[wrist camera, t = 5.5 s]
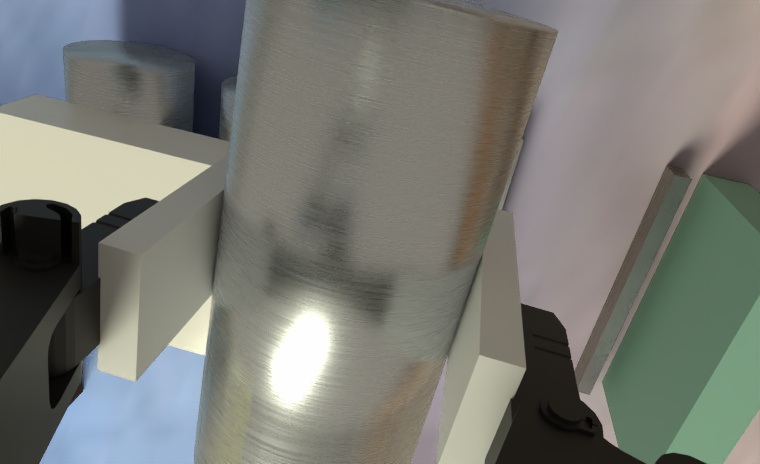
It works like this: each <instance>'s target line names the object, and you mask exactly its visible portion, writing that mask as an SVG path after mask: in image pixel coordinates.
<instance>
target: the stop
mask: <svg viewBox="0 0 760 464" xmlns="http://www.w3.org/2000/svg"><path fill="white" fill-rule="evenodd" d="M602 384H603V388H604V392H605V396H606V399H607V403H608V407H609V411H610V415H611V419H612V423H613V427H614V431H615V435H616V439H617V443H618V447H619V449H620V450H622V451H624V452H625V453H627V454H629V455H631V456H633V457H635V458H637V459H638V460H640V461H642V462H644V463H646V464H655V462H656V461H657V460H658V459H659V458H660V456H661V455H663V454H668V453H679V454H684V455H689V456H691V457H694V458H696V459H698V460H700V461H703V462H705V463H707V464H723V463H724V461H725V460H726V458H727V457H728V455H729V454H730V452H731V451H732V449H733V448H734V446H735V445H736V443H737V442H738V440H739V439H740V437H741V436H742V434H743V433H744V431H745V430H746V428H747V427H748V425H749V424H750V422H751V421H752V419H753V418H754V416H755V415H756V413H757V412H758V410H759V409H760V193H759V192H758V191H757V190H756V189H755V188H754V187H752V186H751V185H748V184H744V183H739V182H735V181H731V180H726V179H722V178H718V177H714V176H709V175H705V174H702V176H701V178H700V180H699V182H698V185H697V187H696V189H695V191H694V193H693V195H692V197H691V199H690V201H689V203H688V205H687V207H686V209H685V212H684V214H683V216H682V218H681V220H680V222H679V224H678V226H677V228H676V230H675V232H674V234H673V236H672V239H671V241H670V243H669V245H668V247H667V249H666V251H665V253H664V255H663V257H662V259H661V261H660V263H659V266H658V268H657V270H656V272H655V274H654V276H653V278H652V280H651V282H650V284H649V286H648V288H647V290H646V293H645V295H644V297H643V299H642V301H641V303H640V305H639V307H638V309H637V311H636V313H635V315H634V317H633V320H632V322H631V324H630V326H629V328H628V330H627V332H626V334H625V336H624V338H623V340H622V342H621V345H620V347H619V349H618V351H617V353H616V355H615V357H614V359H613V361H612V363H611V365H610V367H609V369H608V372H607V374H606V376H605V378H604V380H603V382H602Z"/></svg>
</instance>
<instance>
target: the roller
mask: <svg viewBox="0 0 760 464" xmlns="http://www.w3.org/2000/svg"><path fill="white" fill-rule="evenodd" d="M557 34H558V30H556V29H554V28H552V27H549V26H546V25H543V24H540V23H537V22H534V21H531V20H528V19H525V18H521V17H518V16H515V15H511V14H508V13H504V12H501V11H497V10H494V9H490V8H487V7H483V6H479V5H476V4H472V3H468V2H464V1H461V0H246V5H245V14H244V22H243V31H242V40H241V48H240V57H239V66H238V75H237V83H236V92H235V101H234V109H233V118H232V127H231V135H230V144H229V153H228V161H227V170H226V179H225V187H224V196H223V205H222V214H221V222H220V231H219V240H218V248H217V257H216V266H215V274H214V283H213V292H212V300H211V309H210V318H209V327H208V335H207V344H206V353H205V361H204V370H203V379H202V387H201V396H200V405H199V413H198V422H197V431H196V440H195V449H194V463H195V464H411V461H412V458H413V455H414V453H415V450H416V447H417V444H418V441H419V438H420V435H421V432H422V429H423V426H424V423H425V420H426V417H427V414H428V412H429V409H430V406H431V403H432V400H433V397H434V394H435V391H436V388H437V385H438V382H439V379H440V376H441V373H442V371H443V368H444V365H445V362H446V359H447V356H448V353H449V350H450V347H451V344H452V341H453V338H454V335H455V332H456V329H457V326H458V324H459V321H460V318H461V315H462V312H463V309H464V306H465V303H466V300H467V297H468V294H469V291H470V288H471V285H472V283H473V280H474V277H475V274H476V271H477V268H478V265H479V262H480V259H481V256H482V253H483V250H484V247H485V245H486V242H487V239H488V236H489V233H490V230H491V227H492V224H493V221H494V218H495V215H496V212H497V209H498V206H499V204H500V201H501V198H502V195H503V192H504V189H505V186H506V183H507V180H508V177H509V174H510V171H511V168H512V165H513V163H514V160H515V157H516V154H517V151H518V148H519V145H520V142H521V139H522V136H523V133H524V130H525V127H526V124H527V122H528V119H529V116H530V113H531V110H532V107H533V104H534V101H535V98H536V95H537V92H538V89H539V86H540V83H541V81H542V78H543V75H544V72H545V69H546V66H547V63H548V60H549V57H550V54H551V51H552V48H553V45H554V42H555V39H556V37H557Z"/></svg>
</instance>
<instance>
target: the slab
mask: <svg viewBox="0 0 760 464" xmlns="http://www.w3.org/2000/svg"><path fill="white" fill-rule="evenodd" d="M229 144H230V142H229V141H225V140H221V139H217V138H212V137H208V136H204V135H200V134H196V133H192V132H188V131H184V130H180V129H176V128H172V127H168V126H164V125H160V124H155V123H151V122H147V121H143V120H139V119H135V118H131V117H127V116H123V115H119V114H115V113H111V112H107V111H103V110H98V109H94V108H90V107H86V106H82V105H78V104H74V103H70V102H66V101H62V100H58V99H54V98H50V97H46V96H42V95H33V96H30V97H27V98H23V99H20V100H17V101H13V102H10V103H7V104H3V105H0V206H1V205H2V204H6V203H10V202H14V201H18V200H29V199H43V200H54V201H58V202H62V203H66V204H68V205H70V206H72V207H74V208H76V209H77V210H78V211H79V213H80V214H81V229H83V228H85V227H86V226H88V225H89V224H91V223H93V222H95V223H96V220H97V219H99V218H101V217H102V216H104V215H106V214H107V215H108V214H109V212H110V211H112V210H114V209H115V208H117V207H118V206H120V205H122V204H123V203H126V202H130V201H134V200H138V199H141V198H145V197H146V198H150V199H153V200H157V201H160V200H162V199H163V198H165V197H166V196H168V195H169V194H171V193H172V192H174V191H175V190H177V189H178V188H180V187H181V186H183V185H184V184H185V183H187V182H188V181H190V180H191V179H193V178H194V177H196V176H197V175H199V174H200V173H202V172H203V171H205V170H206V169H208V168H209V167H210V166H212V165H213V164H215V163H216V162H218V161H219V160H221V159H222V158H224V157H225V156H227V155H228V153H229ZM211 300H212V295H211V296H210V297H209V299H208V300H207V301H206V302H205V303H204V304H203V305H202V307H201V308H200V309H199V310H198V311H197V312H196V313H195V315H194V316H193V317H192V318H191V319H190V320H189V321H188V322H187V324H186V325H185V326H184V327H183V328H182V329H181V330H180V332H179V333H178V334H177V335H176V336H175V337H174V338H173V340H172V341H171V342H170V343H169V344H168V345H169V346H172V347H176V348H180V349H183V350H187V351H191V352H194V353H198V354H201V355H205V353H206V344H207V335H208V327H209V318H210V309H211Z"/></svg>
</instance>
